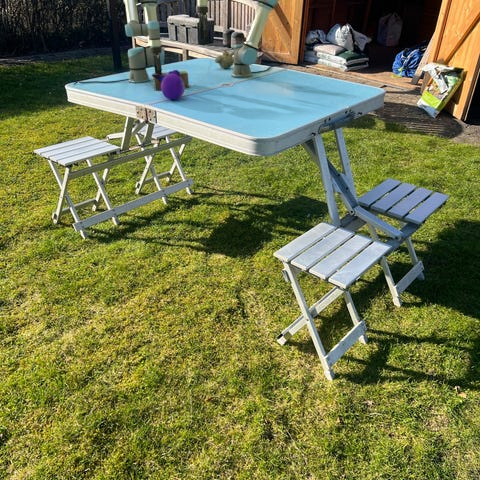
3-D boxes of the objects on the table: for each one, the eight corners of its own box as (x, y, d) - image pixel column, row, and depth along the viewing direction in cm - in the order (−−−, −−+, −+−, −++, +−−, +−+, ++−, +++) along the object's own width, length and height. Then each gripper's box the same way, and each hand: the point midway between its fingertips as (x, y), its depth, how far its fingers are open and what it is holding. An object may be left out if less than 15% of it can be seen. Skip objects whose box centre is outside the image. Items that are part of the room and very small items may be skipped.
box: (155, 90, 310) (154, 75, 305) (154, 88, 317) (152, 73, 312) (188, 87, 316) (187, 73, 311) (186, 85, 323) (185, 71, 318)
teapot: (218, 70, 370) (218, 51, 363) (212, 68, 379) (211, 49, 371) (241, 68, 380) (240, 48, 372) (234, 66, 388) (233, 47, 381)
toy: (175, 91, 304) (184, 105, 283) (149, 87, 296) (157, 101, 276) (179, 67, 296) (189, 80, 275) (153, 62, 288) (161, 75, 268)
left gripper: (164, 48, 291) (167, 82, 301) (158, 44, 312) (161, 76, 322) (152, 48, 289) (156, 83, 299) (147, 45, 310) (151, 77, 320)
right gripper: (212, 7, 296) (213, 41, 306) (203, 5, 316) (205, 38, 327) (201, 7, 294) (203, 42, 305) (193, 5, 314) (195, 38, 325)
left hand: (159, 79), depth 311 cm, fingers open, 13 cm apart
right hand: (204, 40), depth 316 cm, fingers open, 13 cm apart
